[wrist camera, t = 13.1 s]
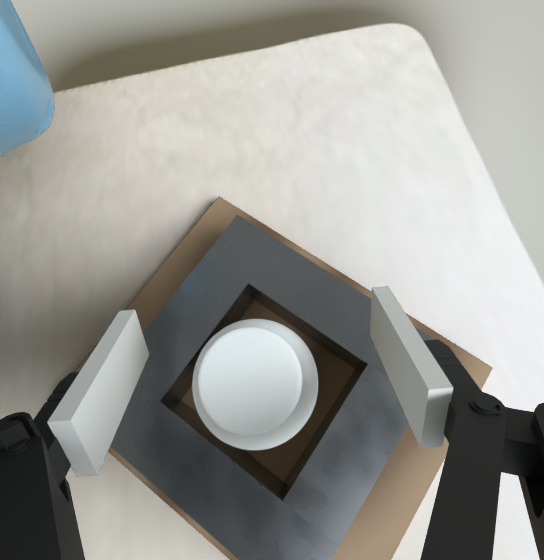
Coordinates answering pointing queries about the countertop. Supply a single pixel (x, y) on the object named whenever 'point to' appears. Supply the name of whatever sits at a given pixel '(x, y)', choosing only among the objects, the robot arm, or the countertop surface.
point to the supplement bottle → (255, 384)
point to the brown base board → (331, 379)
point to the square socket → (236, 462)
